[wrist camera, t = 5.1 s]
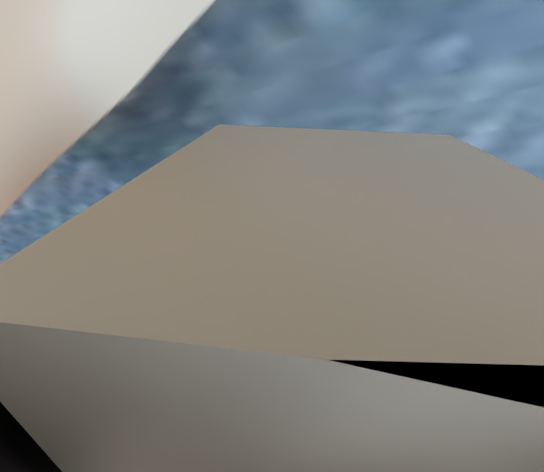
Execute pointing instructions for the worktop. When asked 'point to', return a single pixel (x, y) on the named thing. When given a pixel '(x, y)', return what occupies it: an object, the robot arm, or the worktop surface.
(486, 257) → the chalk-white cube
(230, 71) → the worktop surface
